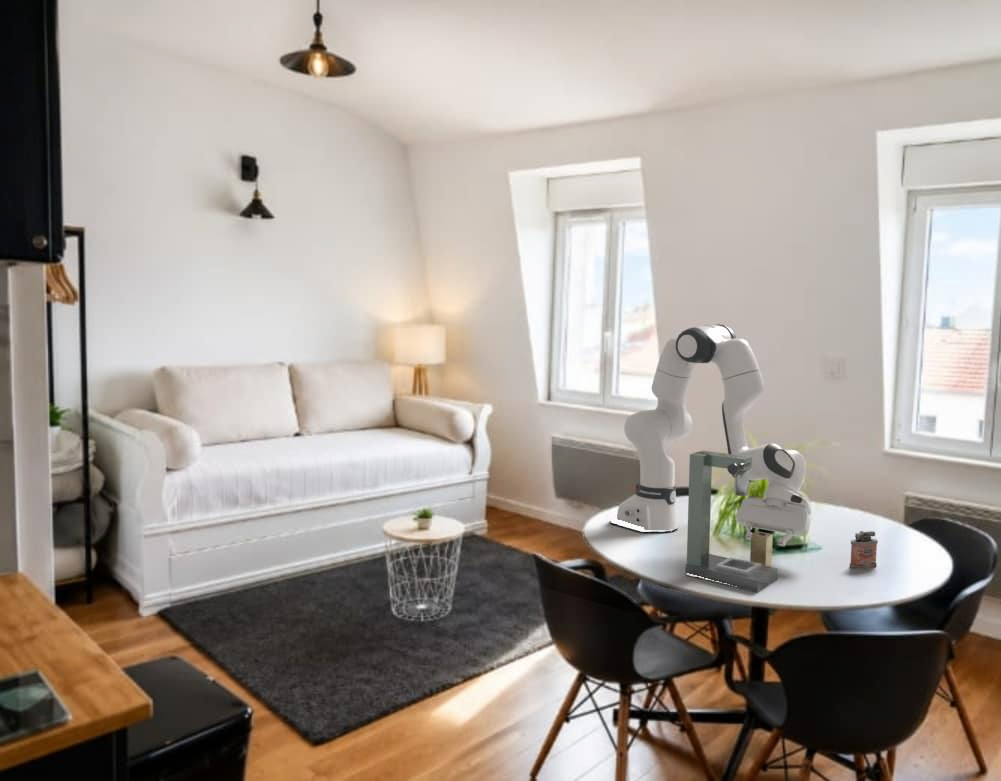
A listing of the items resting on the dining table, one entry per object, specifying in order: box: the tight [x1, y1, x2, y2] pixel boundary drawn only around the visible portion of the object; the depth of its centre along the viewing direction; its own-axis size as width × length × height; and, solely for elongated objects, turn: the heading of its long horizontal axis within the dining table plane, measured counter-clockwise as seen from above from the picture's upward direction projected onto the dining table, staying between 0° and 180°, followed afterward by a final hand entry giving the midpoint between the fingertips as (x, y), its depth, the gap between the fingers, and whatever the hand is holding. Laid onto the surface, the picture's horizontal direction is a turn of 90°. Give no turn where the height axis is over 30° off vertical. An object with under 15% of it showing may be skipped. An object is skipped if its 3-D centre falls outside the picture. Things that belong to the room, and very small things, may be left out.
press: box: [685, 450, 779, 593], centre depth 212 cm, size 20×18×33 cm
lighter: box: [849, 530, 879, 570], centre depth 225 cm, size 8×3×10 cm, turn 106°
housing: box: [749, 530, 774, 567], centre depth 225 cm, size 4×4×9 cm
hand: (764, 541), depth 226 cm, fingers open, 8 cm apart
